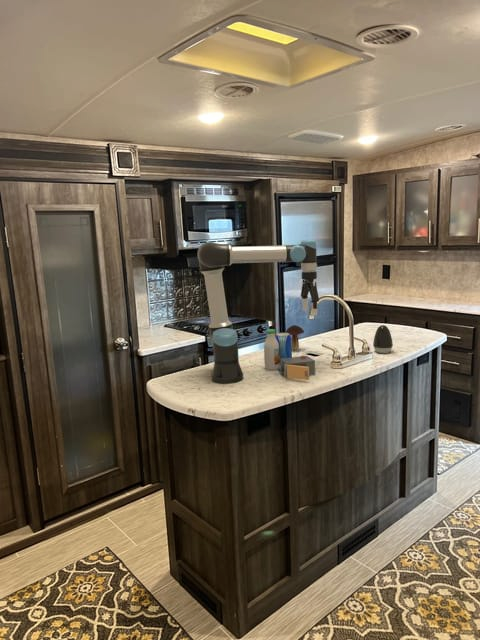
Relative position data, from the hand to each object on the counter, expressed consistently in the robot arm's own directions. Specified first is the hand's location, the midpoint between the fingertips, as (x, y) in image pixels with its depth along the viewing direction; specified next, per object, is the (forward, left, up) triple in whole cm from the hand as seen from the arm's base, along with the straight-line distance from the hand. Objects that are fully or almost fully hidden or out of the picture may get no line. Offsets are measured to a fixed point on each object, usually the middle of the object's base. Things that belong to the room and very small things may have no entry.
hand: (309, 313), depth 238 cm
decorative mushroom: (+2, +28, -27) cm, 39 cm away
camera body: (-13, -15, -26) cm, 33 cm away
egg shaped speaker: (+44, +4, -27) cm, 51 cm away
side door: (-17, -25, -25) cm, 39 cm away
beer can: (-13, +4, -27) cm, 30 cm away
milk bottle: (-21, -1, -27) cm, 34 cm away
